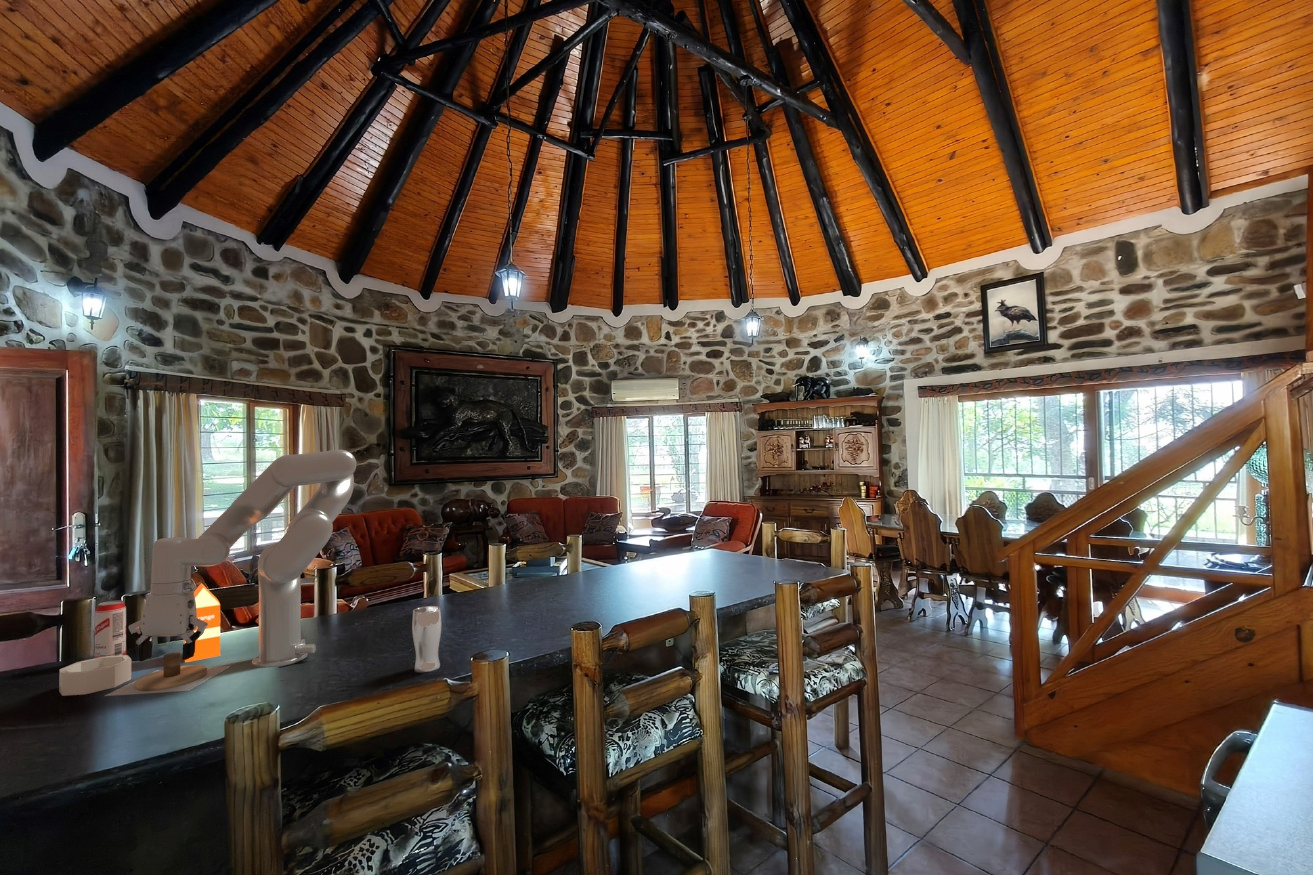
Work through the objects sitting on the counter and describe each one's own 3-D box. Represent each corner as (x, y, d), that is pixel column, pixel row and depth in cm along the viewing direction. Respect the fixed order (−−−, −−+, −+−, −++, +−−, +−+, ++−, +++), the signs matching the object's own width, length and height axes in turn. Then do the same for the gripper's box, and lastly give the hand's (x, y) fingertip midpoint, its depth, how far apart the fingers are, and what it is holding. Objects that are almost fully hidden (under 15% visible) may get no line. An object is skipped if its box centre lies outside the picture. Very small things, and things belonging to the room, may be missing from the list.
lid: (219, 668, 150) (219, 643, 150) (182, 688, 136) (182, 662, 136) (162, 671, 148) (162, 647, 148) (119, 692, 134) (119, 665, 135)
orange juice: (184, 664, 154) (184, 589, 155) (183, 656, 161) (183, 584, 162) (221, 657, 160) (221, 584, 160) (218, 649, 166) (218, 580, 167)
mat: (231, 668, 151) (231, 665, 151) (188, 693, 135) (188, 690, 135) (156, 672, 149) (156, 670, 149) (104, 698, 133) (104, 695, 133)
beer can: (106, 665, 155) (106, 605, 155) (88, 664, 156) (88, 605, 157) (131, 657, 161) (132, 600, 162) (114, 656, 162) (114, 599, 163)
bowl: (142, 676, 147) (142, 654, 147) (102, 695, 135) (102, 671, 135) (90, 679, 145) (90, 657, 146) (45, 698, 133) (45, 674, 134)
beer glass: (447, 665, 149) (447, 607, 150) (426, 674, 143) (426, 613, 144) (427, 661, 152) (427, 604, 153) (406, 671, 146) (405, 611, 146)
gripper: (218, 584, 147) (214, 653, 146) (144, 585, 145) (140, 654, 144) (198, 591, 140) (194, 662, 139) (119, 592, 138) (115, 665, 137)
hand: (166, 658), depth 142 cm, fingers open, 9 cm apart
